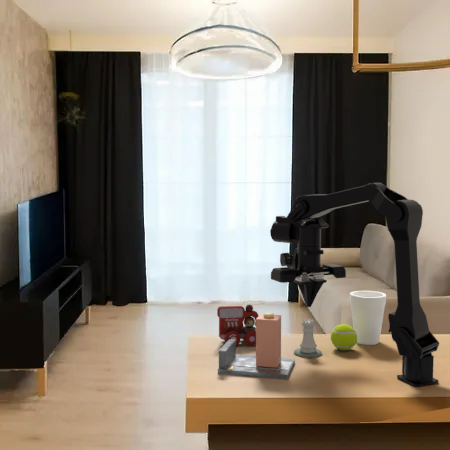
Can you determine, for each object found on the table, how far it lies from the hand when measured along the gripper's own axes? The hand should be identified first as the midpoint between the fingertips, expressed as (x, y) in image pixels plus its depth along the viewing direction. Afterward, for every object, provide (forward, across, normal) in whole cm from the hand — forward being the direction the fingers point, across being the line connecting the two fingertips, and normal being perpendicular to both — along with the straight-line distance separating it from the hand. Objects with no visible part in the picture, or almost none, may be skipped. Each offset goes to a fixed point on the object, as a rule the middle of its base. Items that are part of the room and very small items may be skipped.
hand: (308, 306), depth 155 cm
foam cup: (+12, -20, -3) cm, 24 cm away
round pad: (+12, 0, 0) cm, 12 cm away
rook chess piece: (+12, 0, 0) cm, 12 cm away
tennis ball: (+12, -10, +1) cm, 16 cm away
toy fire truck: (+12, +12, -15) cm, 23 cm away
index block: (+11, +15, +7) cm, 19 cm away
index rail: (+12, +17, +5) cm, 21 cm away
